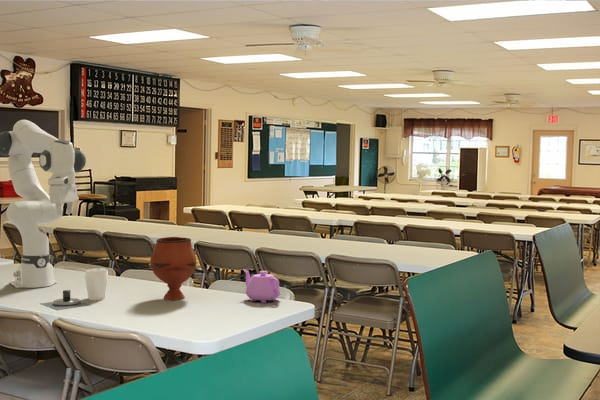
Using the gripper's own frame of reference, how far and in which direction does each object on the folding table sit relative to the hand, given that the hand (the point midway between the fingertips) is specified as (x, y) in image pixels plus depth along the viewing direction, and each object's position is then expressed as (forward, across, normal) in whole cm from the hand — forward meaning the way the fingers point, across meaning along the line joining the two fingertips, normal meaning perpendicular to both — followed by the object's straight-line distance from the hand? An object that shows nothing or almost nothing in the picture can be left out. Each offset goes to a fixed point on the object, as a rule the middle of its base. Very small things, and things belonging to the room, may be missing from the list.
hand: (64, 213), depth 286 cm
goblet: (+36, -8, +42) cm, 56 cm away
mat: (+36, +10, +3) cm, 37 cm away
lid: (+35, +8, +3) cm, 36 cm away
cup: (+36, -3, +11) cm, 38 cm away
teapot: (+37, -8, +79) cm, 88 cm away
